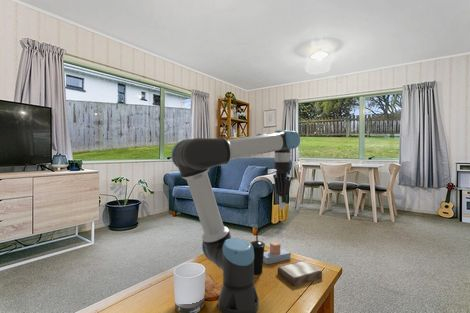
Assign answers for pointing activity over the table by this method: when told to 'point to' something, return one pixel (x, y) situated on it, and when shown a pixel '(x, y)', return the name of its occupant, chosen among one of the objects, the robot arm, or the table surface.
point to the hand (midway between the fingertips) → (282, 208)
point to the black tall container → (258, 255)
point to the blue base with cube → (276, 254)
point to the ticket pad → (299, 273)
